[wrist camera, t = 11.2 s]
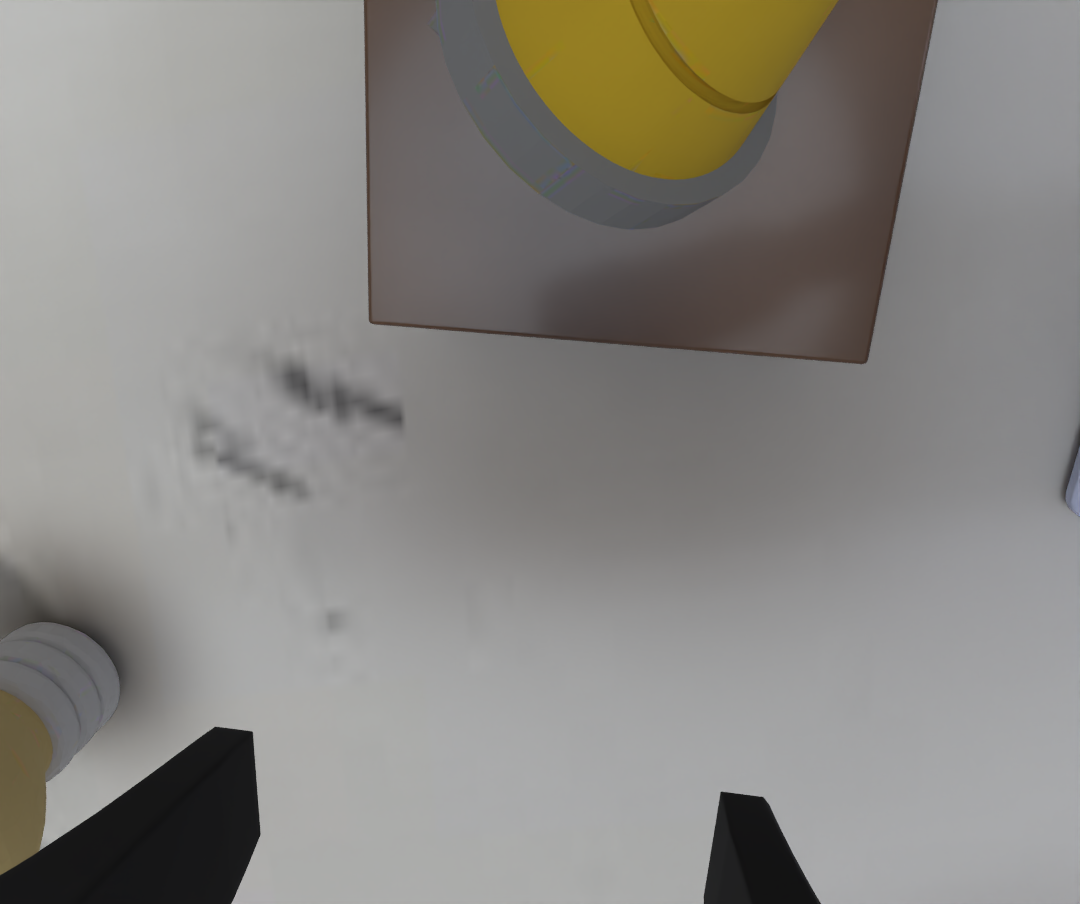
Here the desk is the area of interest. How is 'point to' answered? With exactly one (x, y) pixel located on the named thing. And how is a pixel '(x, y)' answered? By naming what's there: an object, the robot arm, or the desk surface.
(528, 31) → the yellow stepped cone
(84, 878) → the robot arm
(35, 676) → the light bulb
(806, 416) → the desk surface
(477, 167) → the desk riser
